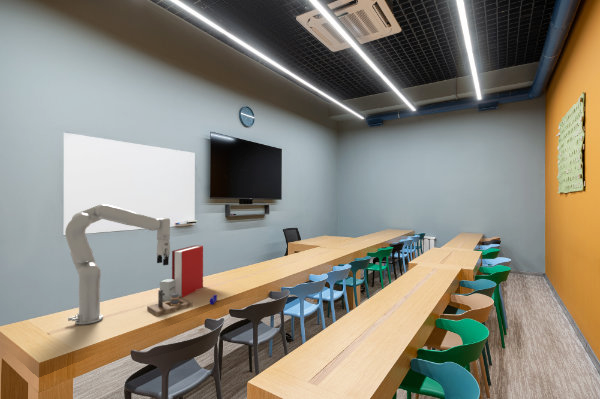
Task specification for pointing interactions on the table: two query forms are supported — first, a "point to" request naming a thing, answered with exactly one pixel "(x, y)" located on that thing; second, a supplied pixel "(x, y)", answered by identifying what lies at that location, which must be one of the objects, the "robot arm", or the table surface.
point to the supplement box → (167, 288)
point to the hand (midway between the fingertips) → (162, 263)
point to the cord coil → (174, 299)
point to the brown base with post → (167, 305)
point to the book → (187, 269)
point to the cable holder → (213, 299)
